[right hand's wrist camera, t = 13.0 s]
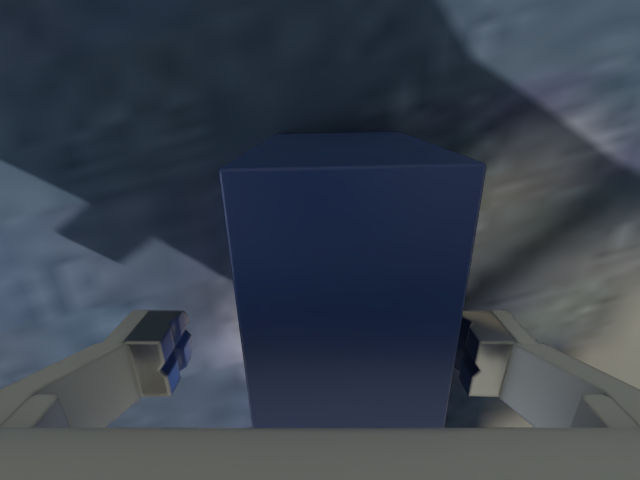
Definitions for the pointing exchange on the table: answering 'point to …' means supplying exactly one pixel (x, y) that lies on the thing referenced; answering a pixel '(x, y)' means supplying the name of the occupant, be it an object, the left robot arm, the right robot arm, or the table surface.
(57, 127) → the table surface
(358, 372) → the bar
